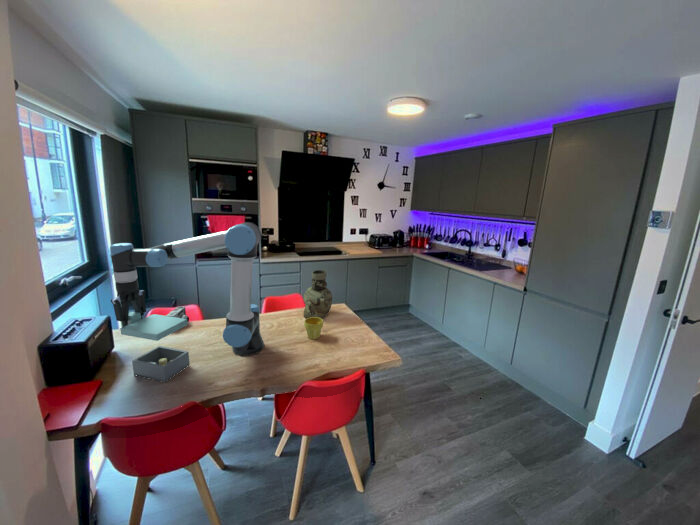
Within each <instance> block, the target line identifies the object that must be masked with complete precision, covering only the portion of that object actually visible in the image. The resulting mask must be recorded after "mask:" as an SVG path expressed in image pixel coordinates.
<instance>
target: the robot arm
mask: <svg viewBox="0 0 700 525" xmlns="http://www.w3.org/2000/svg"><path fill="white" fill-rule="evenodd" d="M261 239H262V231H261V229H260V227H258V226H257V225H256V224H255V223H254V222H251V221H250V222H249V221H247V222H242V223H238V224H235V225H233V226H230V227H229V228H228V229H227V230H224V231H218V232H212V233H208V234H204V235H199V236H194V237H189V238H184V239H181V240H176V241H171V242H164V243H162V244H159V245H155V246H152V247H148V248H134V245H133V244H132V243H131V242H119V243H114V244H111V245H110V247H109V249H110V258H111V263H112V268H113V269H112V270H113V275H114V276H113V277H114V281H115V290H116V292H117V295H116V297H115V298H111V300H110V302H111V303H112V306H113V310H114V315H115V320H116V322H122V327H124V326H127V325H129V324H131V321H130V320H128V316H129V313H130V305H131V304H132V307H133V310H134V312H139V313H140V315H141V319H143V316H144V315H145V313H146V312H147V305H146V294H147V293H146V290H144V289H142V290H141V289H139V288H140V287H139V286H140V285H139V280H138V271H137V268H157V267H158V268H160V267H164V266H165V265H166V264H167V262H168V261H169V260H174V259H178V258H179V259H180V258H183V257H188V256H193V255H197V254H201V253H206V252H212V251H215V250H221V249H227V256H228V258H229V259H230V260H231V263H230V265H231V266H230V298H229V299H230V302H229V312H228V313H227V314H226V316H225V328H223V331H222V338H223V341H224V343H226V344H227V345H228V346H230V347H232V348H231V349H232V353H233V354H235V355H236V356H237V355H238V356H242V357H243V356H244V357H245V356H251V355H255V354H257V353H260V352H261V351H262V350H263V349H264V347H265V344H264V343H265V341H264V339H263V337H262V335H261V330H260V320H261V319H260V312H261V311H260V307H259V306H258V305H257V304H253V303H252V288H253V283H252V282H253V267H254V266H253V265H254V263H253V261H254V260H255V259H257V256H258V255H257V253H258V245H259V243H260V242H261Z"/></svg>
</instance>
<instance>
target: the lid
mask: <svg viewBox="0 0 700 525" xmlns="http://www.w3.org/2000/svg"><path fill="white" fill-rule="evenodd" d="M142 318H143V317H142ZM128 320H130V321H131V324H129V325H127V326H124V327H123V326H122V327H121V328H119V329H120V334H121V335H123V336H128V337H134V338H139V339H146V340H149V341H150V340H151V341H156V342H158V341H160V340H162V339H164V338H166V337H167V336H169V335H172V334H173V333H176V332H178V331H179V330H181V329H183V328H184V327H186V326H189V322H187V319H183V318H177V317H170V316H166V315H164V314H163V315H162V314H156V313H155V314H154V313H153V314H150V315H149V316H146V317H144V318H143V319H141V315H140V313H139V312H135V311H129V316H128Z"/></svg>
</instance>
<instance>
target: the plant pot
mask: <svg viewBox="0 0 700 525" xmlns="http://www.w3.org/2000/svg"><path fill="white" fill-rule="evenodd" d="M303 326H304V328H305V331H306V334H307V338H308V339H310V340H317V339H318V340H319V338H320V336H321V332H322V328H323V327H324V319H321V318H318V317H310V318H307V319H306V318H305V319H304V325H303Z"/></svg>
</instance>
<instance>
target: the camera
mask: <svg viewBox="0 0 700 525" xmlns="http://www.w3.org/2000/svg"><path fill="white" fill-rule="evenodd" d="M165 316H170V317H177V318H183V319H187V322H188V323H189V322H190V316H188V315H187V312H186V306H182V305H181V306H179V305H178V306H177V307H175V308H174V309H172V310H171V311H169V313H168V314H166V315H165Z"/></svg>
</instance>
